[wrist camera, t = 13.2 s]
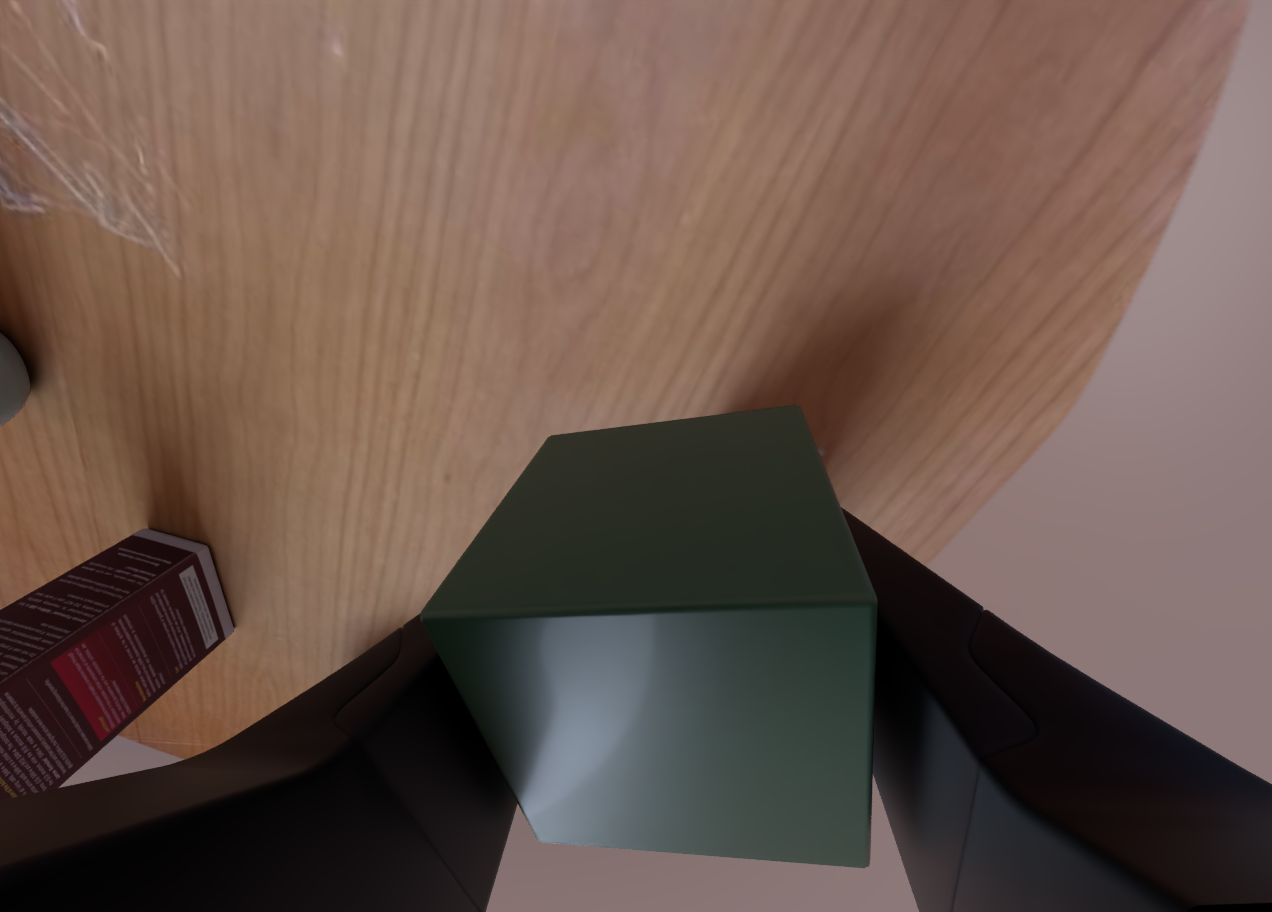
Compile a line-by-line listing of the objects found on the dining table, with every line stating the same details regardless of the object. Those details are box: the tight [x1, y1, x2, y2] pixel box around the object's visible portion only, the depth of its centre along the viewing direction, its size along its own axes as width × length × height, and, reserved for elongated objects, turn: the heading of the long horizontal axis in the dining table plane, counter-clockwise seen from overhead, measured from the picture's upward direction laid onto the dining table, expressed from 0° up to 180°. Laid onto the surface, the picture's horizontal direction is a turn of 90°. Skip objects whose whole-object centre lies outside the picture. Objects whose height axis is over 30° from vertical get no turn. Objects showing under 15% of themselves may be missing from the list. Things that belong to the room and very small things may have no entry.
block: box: [420, 405, 878, 868], centre depth 7 cm, size 4×4×4 cm
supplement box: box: [0, 529, 234, 800], centre depth 26 cm, size 9×5×16 cm, turn 168°
